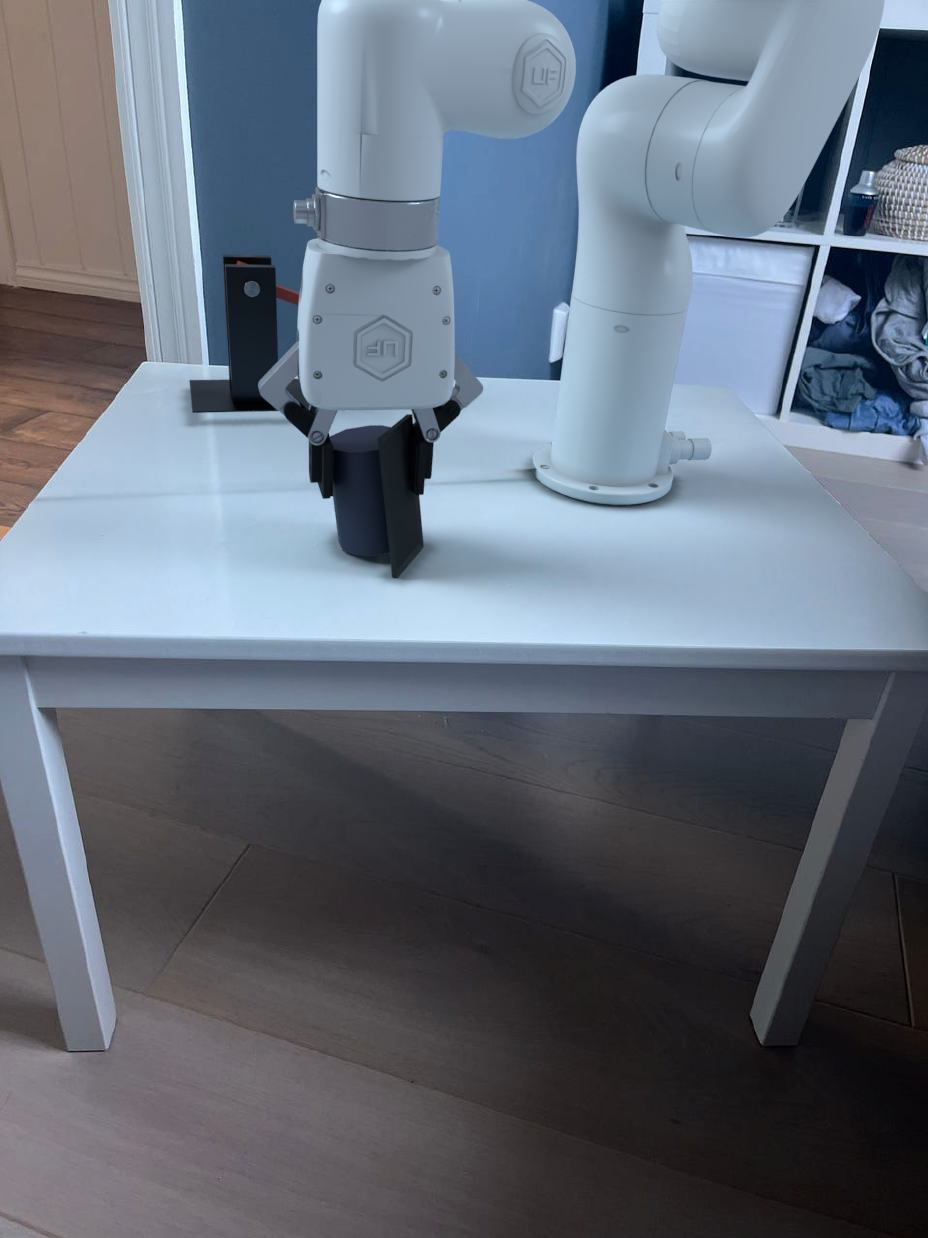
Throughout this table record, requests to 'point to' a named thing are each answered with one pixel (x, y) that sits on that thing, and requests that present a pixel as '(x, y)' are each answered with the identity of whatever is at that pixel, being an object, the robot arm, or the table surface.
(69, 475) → the table surface
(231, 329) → the bracket
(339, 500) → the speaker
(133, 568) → the table surface
